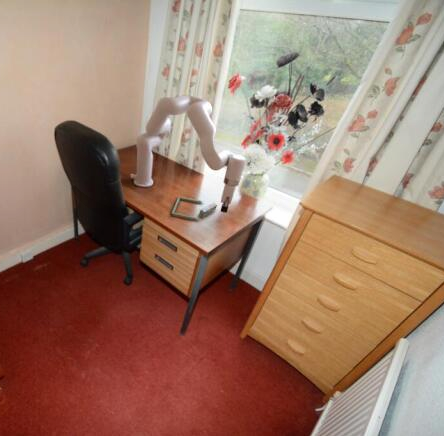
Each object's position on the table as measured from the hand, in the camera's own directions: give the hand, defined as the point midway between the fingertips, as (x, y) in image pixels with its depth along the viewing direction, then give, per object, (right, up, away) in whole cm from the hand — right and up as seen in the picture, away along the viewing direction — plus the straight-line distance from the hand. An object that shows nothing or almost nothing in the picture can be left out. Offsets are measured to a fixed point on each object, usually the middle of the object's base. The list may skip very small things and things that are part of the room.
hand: (223, 211), depth 145 cm
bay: (-18, +1, +7) cm, 19 cm away
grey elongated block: (-8, -1, +4) cm, 9 cm away
